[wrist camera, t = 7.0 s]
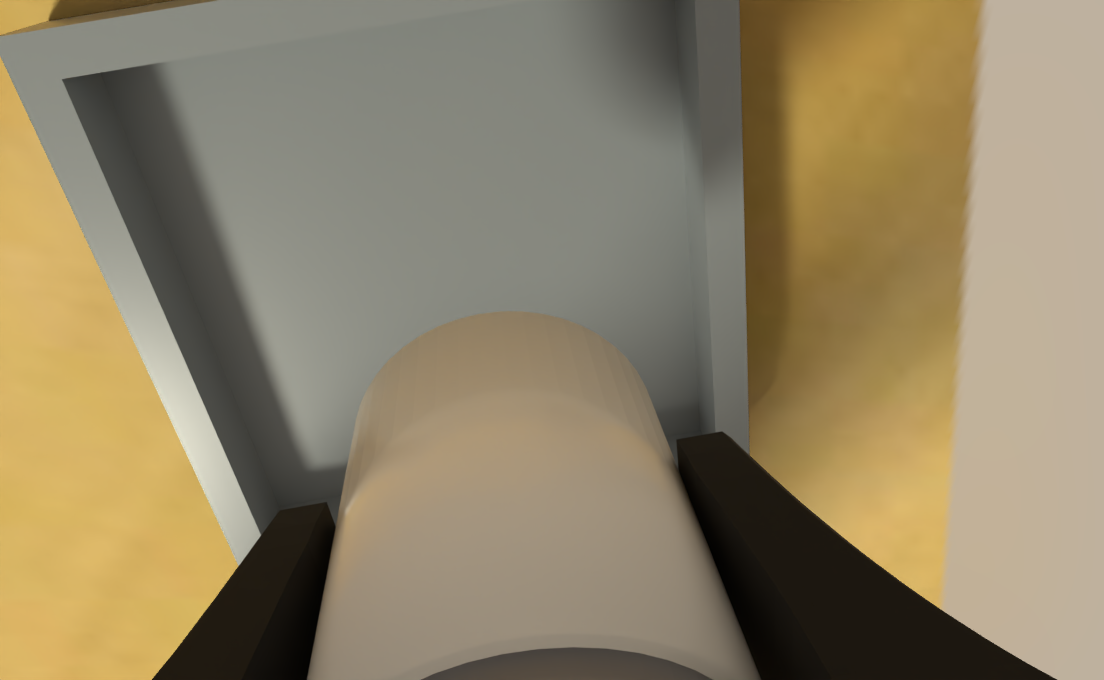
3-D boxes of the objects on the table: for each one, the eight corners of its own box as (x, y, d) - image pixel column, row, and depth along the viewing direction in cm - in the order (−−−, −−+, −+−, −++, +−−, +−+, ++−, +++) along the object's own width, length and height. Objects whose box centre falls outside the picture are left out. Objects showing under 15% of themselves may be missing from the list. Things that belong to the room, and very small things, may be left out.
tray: (725, 437, 21) (749, 485, 20) (261, 522, 21) (244, 578, 19) (704, -88, 15) (737, -86, 13) (45, 21, 15) (-9, 37, 13)
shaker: (664, 528, 13) (824, 1003, 7) (395, 578, 13) (350, 1102, 7) (640, 284, 11) (843, 701, 5) (315, 343, 11) (163, 832, 5)
